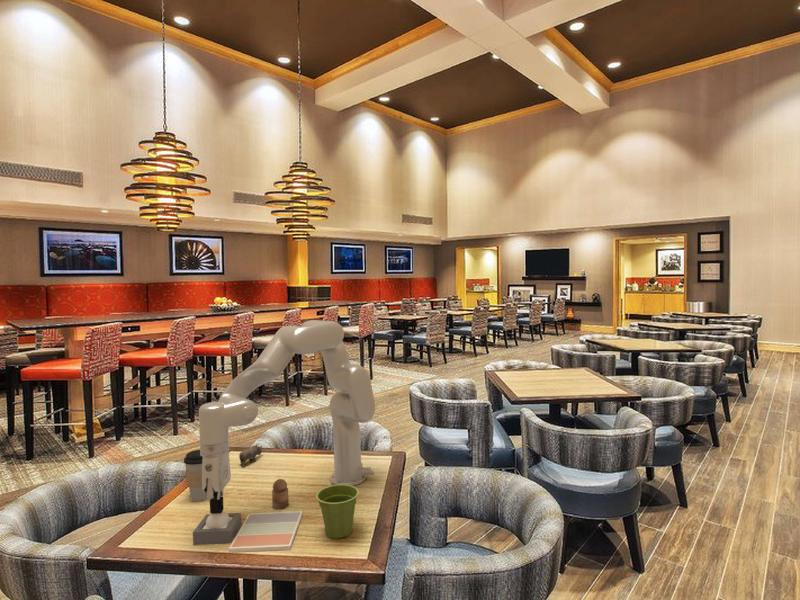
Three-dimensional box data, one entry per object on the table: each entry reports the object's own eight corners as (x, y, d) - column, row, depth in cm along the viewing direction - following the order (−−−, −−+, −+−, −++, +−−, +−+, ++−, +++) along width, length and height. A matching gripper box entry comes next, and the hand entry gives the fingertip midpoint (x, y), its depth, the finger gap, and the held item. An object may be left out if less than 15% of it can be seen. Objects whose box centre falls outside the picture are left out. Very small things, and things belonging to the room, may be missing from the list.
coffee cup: (186, 507, 150) (184, 460, 149) (184, 495, 158) (182, 451, 158) (217, 500, 154) (215, 454, 154) (214, 489, 163) (212, 446, 162)
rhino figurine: (267, 455, 194) (266, 441, 194) (245, 468, 181) (244, 452, 181) (258, 454, 196) (258, 440, 195) (236, 467, 183) (235, 451, 182)
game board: (302, 514, 143) (302, 510, 143) (290, 549, 124) (290, 545, 124) (249, 516, 143) (249, 513, 143) (228, 552, 124) (228, 548, 124)
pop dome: (233, 527, 136) (232, 505, 136) (226, 539, 130) (225, 516, 130) (210, 528, 136) (210, 506, 136) (202, 540, 130) (201, 517, 129)
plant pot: (321, 522, 138) (320, 484, 138) (362, 521, 138) (361, 483, 137) (313, 544, 126) (311, 503, 126) (357, 544, 126) (356, 502, 126)
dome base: (241, 524, 138) (241, 512, 138) (230, 543, 128) (230, 530, 128) (206, 526, 138) (206, 514, 138) (193, 544, 128) (192, 532, 128)
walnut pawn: (290, 501, 152) (289, 476, 152) (287, 509, 147) (286, 482, 147) (274, 502, 152) (273, 476, 151) (270, 509, 147) (269, 483, 146)
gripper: (218, 456, 125) (221, 524, 125) (236, 438, 140) (238, 499, 140) (190, 457, 124) (192, 526, 125) (210, 439, 139) (212, 500, 140)
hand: (216, 511), depth 133 cm, fingers closed
